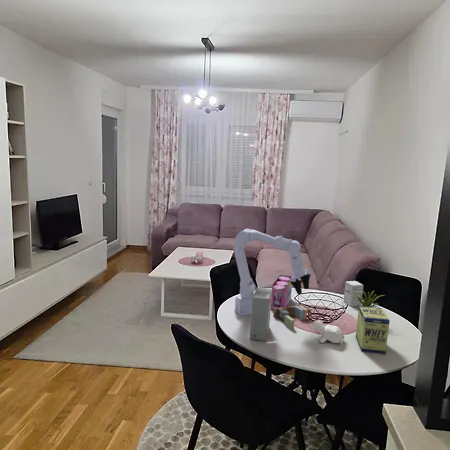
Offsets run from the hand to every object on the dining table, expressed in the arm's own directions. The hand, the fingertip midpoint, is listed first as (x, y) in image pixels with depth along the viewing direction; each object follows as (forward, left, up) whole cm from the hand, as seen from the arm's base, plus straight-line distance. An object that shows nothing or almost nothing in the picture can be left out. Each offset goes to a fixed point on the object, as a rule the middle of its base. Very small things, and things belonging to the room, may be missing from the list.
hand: (303, 291), depth 205 cm
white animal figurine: (+1, -21, -17) cm, 27 cm away
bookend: (-8, +4, -16) cm, 18 cm away
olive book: (-9, -4, -16) cm, 19 cm away
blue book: (+2, +4, -16) cm, 16 cm away
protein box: (+17, -31, -16) cm, 39 cm away
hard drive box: (-26, -6, -16) cm, 32 cm away
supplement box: (+44, +14, -16) cm, 49 cm away
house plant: (+36, -8, -16) cm, 40 cm away
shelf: (-2, +5, -16) cm, 17 cm away
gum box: (+3, +25, -16) cm, 30 cm away
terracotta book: (+4, +4, -16) cm, 17 cm away
